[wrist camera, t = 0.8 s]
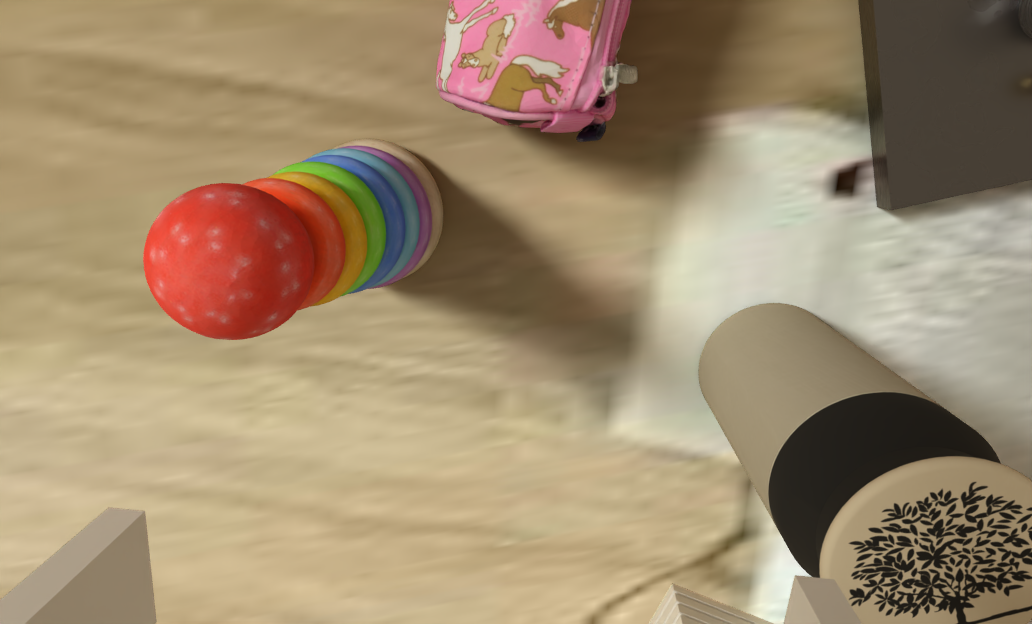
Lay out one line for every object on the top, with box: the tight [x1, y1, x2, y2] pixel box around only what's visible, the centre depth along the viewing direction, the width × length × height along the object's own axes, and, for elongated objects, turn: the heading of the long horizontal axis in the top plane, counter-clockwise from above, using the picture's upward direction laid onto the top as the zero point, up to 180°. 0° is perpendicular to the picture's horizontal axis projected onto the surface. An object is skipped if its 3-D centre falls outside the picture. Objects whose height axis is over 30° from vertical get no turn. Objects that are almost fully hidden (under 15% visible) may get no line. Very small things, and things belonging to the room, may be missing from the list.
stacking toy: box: [143, 139, 443, 340], centre depth 28 cm, size 8×8×19 cm
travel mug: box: [699, 303, 1032, 624], centre depth 29 cm, size 8×8×18 cm
